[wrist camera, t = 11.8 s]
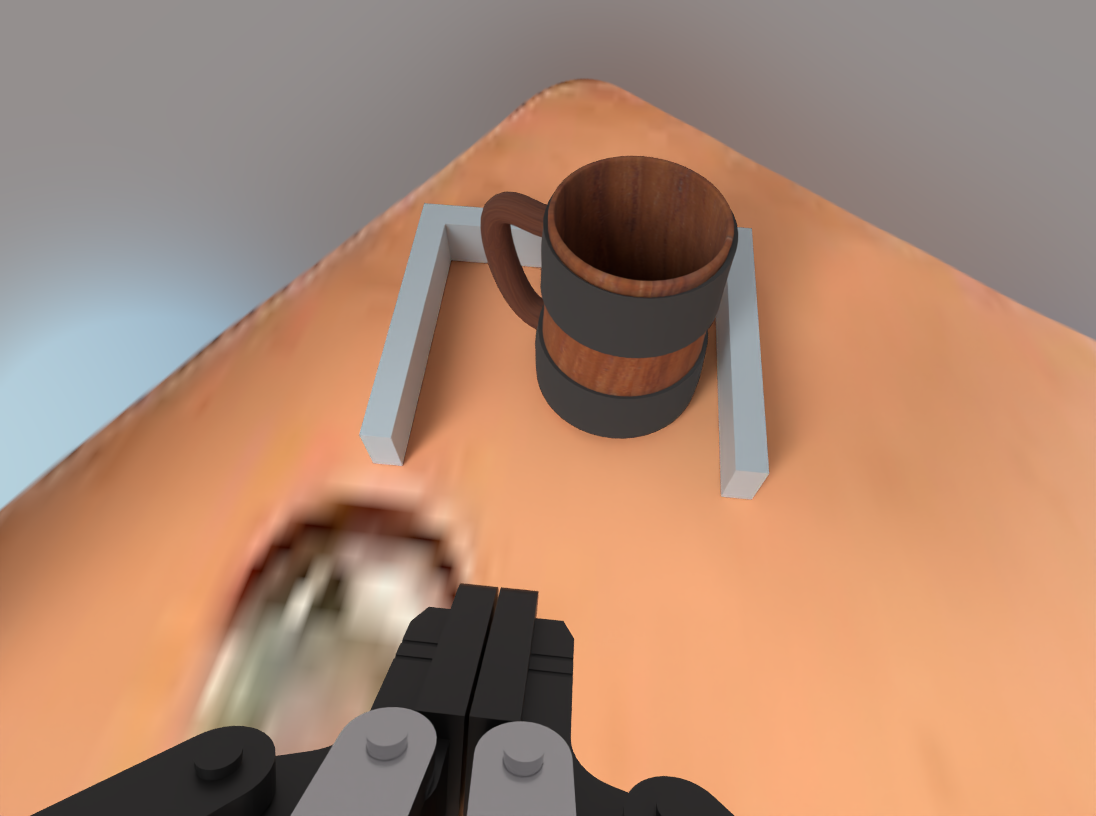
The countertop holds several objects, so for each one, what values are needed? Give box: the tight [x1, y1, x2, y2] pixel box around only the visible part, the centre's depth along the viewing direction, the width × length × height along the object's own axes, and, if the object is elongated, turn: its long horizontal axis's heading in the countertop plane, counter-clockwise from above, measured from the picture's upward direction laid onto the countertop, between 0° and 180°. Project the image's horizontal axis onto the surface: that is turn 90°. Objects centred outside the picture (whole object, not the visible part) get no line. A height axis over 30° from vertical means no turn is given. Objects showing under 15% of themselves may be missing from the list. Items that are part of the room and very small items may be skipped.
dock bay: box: [359, 203, 769, 500], centre depth 36 cm, size 19×16×3 cm
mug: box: [480, 156, 738, 438], centre depth 32 cm, size 9×12×12 cm
